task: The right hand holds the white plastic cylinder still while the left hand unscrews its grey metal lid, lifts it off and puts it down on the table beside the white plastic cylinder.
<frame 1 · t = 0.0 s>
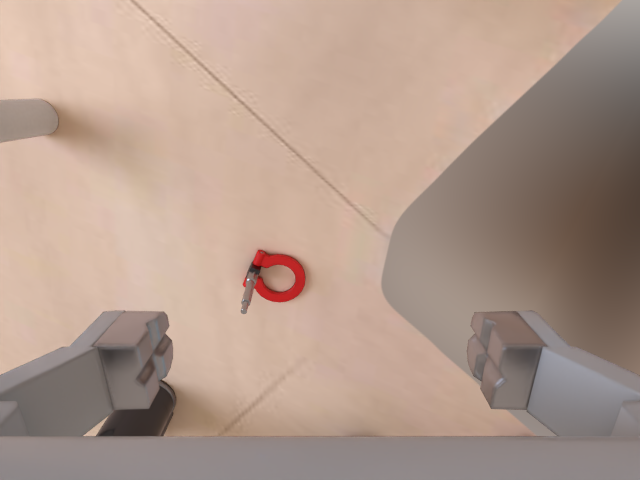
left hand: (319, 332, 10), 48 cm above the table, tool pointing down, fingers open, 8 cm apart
tow hook: (277, 275, 63), on the table
white plastic cylinder: (40, 117, 54), on the table
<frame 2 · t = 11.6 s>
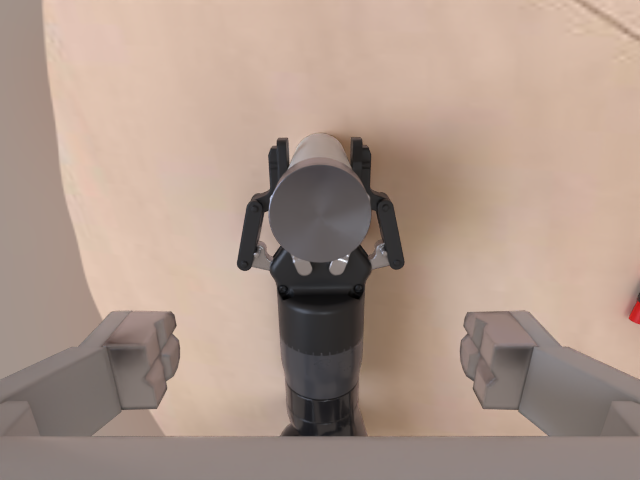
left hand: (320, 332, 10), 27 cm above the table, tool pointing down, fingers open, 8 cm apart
right hand: (319, 139, 29), fingers closed on white plastic cylinder, 5 cm apart
white plastic cylinder: (319, 159, 36), on the table, touching right hand
lid: (319, 214, 20), point 17 cm above the table, screwed on, not yet turned
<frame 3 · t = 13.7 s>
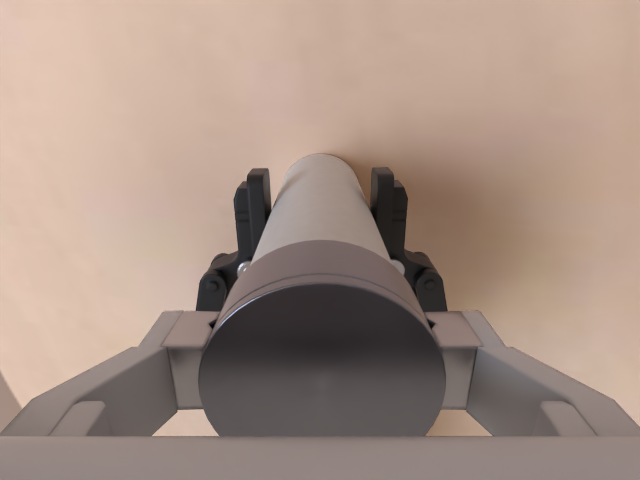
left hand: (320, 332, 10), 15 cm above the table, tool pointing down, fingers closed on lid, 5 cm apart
white plastic cylinder: (320, 192, 24), on the table, touching right hand
lid: (322, 381, 9), point 17 cm above the table, screwed on, not yet turned, touching left hand
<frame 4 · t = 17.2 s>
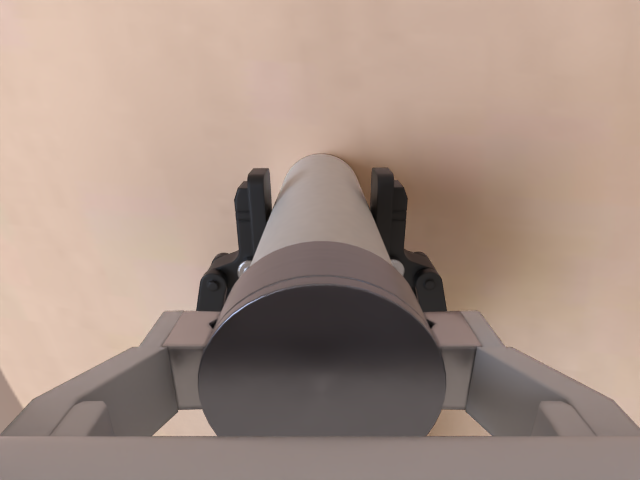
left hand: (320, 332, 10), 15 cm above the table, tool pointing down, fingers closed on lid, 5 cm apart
white plastic cylinder: (320, 192, 24), on the table, touching right hand
lid: (321, 382, 9), point 17 cm above the table, turned 92° so far, risen 0.1 cm, still on its thread, touching left hand
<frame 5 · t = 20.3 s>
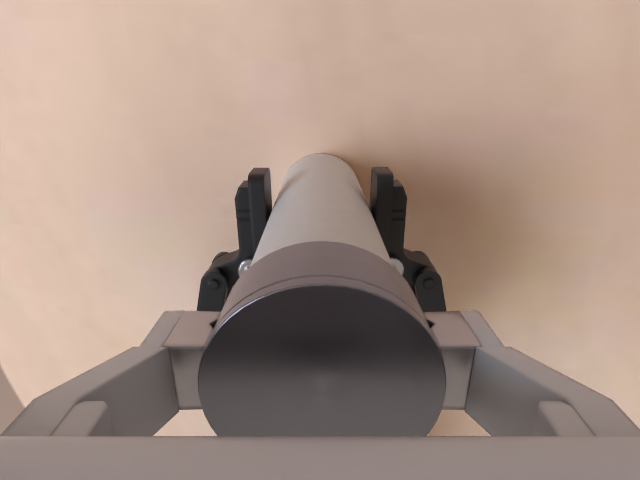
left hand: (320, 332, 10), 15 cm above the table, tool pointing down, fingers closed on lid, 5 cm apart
white plastic cylinder: (320, 192, 25), on the table, touching right hand
lid: (321, 382, 9), point 17 cm above the table, turned 184° so far, risen 0.2 cm, still on its thread, touching left hand
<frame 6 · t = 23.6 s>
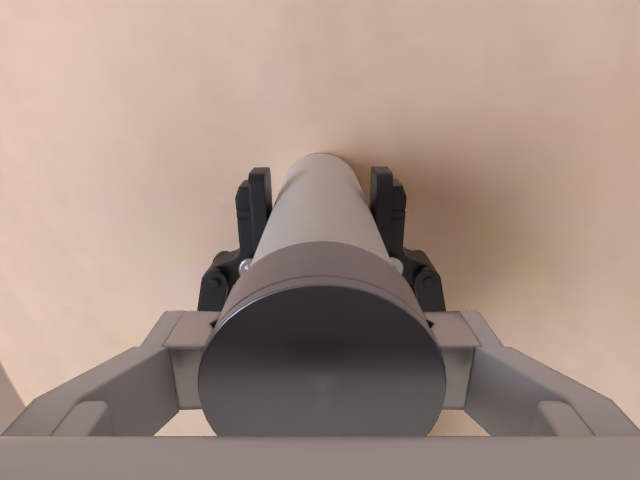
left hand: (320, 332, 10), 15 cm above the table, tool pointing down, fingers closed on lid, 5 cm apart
white plastic cylinder: (320, 191, 25), on the table, touching right hand
lid: (321, 383, 9), point 17 cm above the table, turned 276° so far, risen 0.3 cm, still on its thread, touching left hand
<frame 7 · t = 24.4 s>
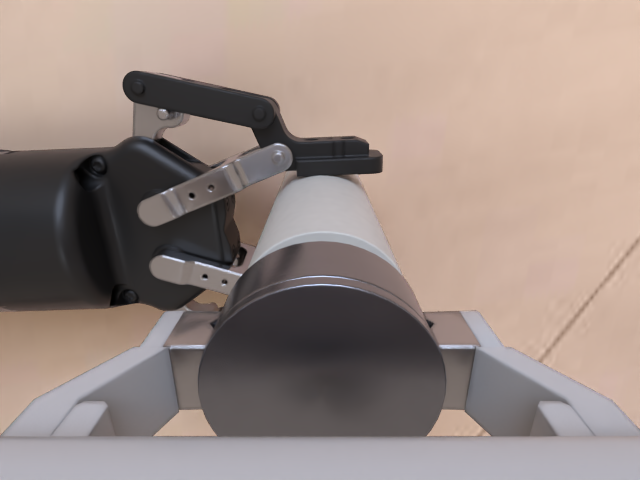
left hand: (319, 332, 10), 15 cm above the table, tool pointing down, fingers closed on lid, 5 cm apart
right hand: (377, 218, 18), fingers closed on white plastic cylinder, 5 cm apart
white plastic cylinder: (321, 187, 25), on the table, touching right hand
lid: (321, 383, 9), point 17 cm above the table, off its thread, touching left hand
when the left hand's fingers open (2 cm above the table, at t = 30.8 s): lid drops 2 cm, point 2 cm above the table.
when the right hand's fingers open (7 cm above the table, at t = 31.9 s): white plastic cylinder stays where it is, on the table.
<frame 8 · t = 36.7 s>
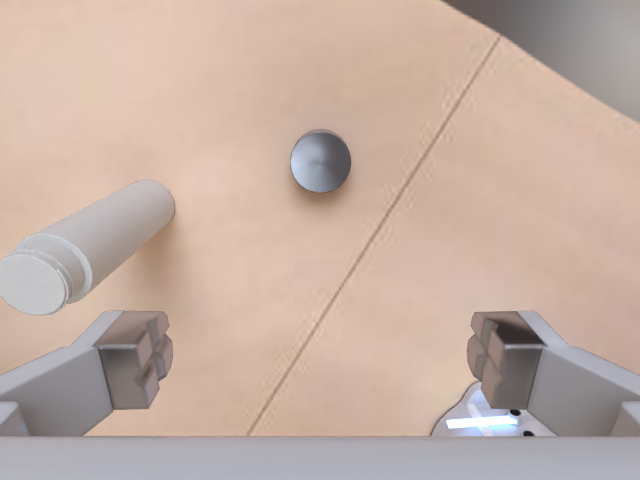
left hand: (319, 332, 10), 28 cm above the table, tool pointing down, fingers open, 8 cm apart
white plastic cylinder: (150, 204, 38), on the table
lid: (320, 162, 34), point 2 cm above the table, off its thread
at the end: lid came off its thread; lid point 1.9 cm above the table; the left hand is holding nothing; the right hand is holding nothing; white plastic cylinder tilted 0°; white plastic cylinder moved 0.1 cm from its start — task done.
